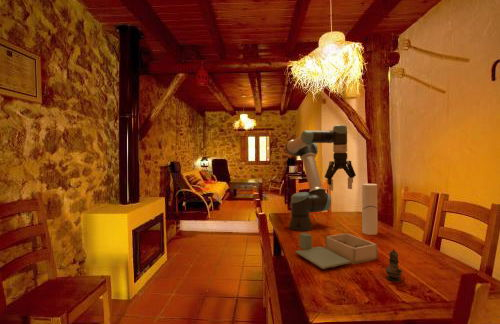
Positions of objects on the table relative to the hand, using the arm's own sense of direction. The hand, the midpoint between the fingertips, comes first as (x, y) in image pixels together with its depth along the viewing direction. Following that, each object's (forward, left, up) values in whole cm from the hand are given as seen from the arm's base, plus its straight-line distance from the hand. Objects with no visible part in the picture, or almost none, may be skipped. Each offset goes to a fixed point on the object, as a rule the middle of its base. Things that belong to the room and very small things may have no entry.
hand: (340, 189), depth 154 cm
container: (-2, +24, -29) cm, 38 cm away
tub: (+20, -12, -29) cm, 37 cm away
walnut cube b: (+24, -9, -27) cm, 38 cm away
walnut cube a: (+15, -14, -28) cm, 34 cm away
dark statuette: (+47, -15, -29) cm, 57 cm away
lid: (+18, -29, -29) cm, 44 cm away
